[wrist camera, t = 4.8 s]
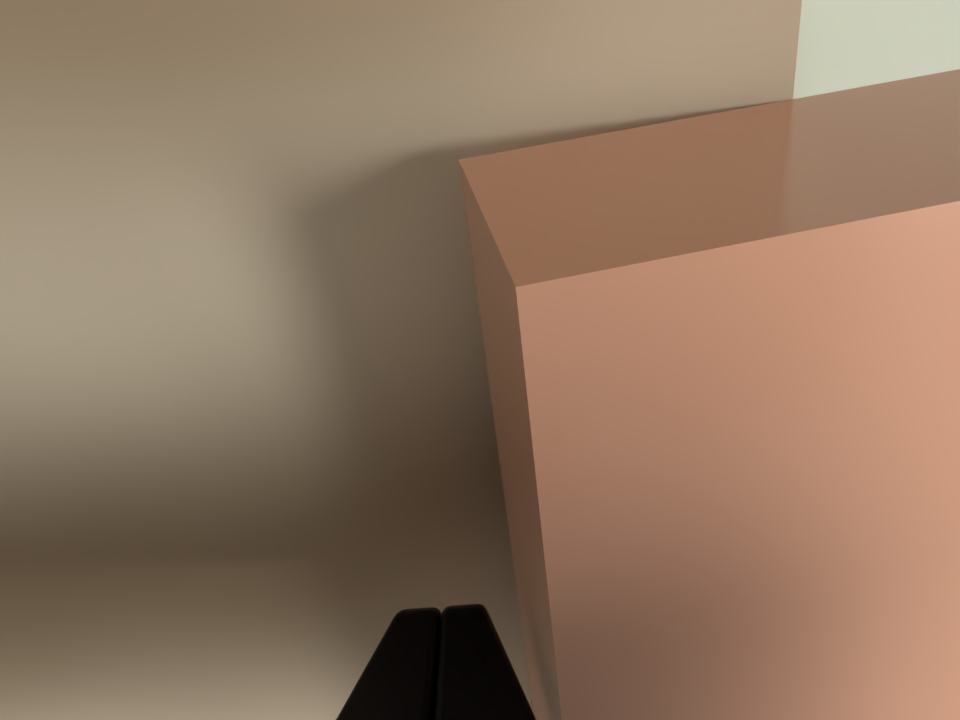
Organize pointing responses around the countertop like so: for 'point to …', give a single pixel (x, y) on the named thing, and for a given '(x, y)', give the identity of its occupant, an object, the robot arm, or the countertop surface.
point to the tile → (733, 407)
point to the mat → (873, 42)
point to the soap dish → (279, 322)
